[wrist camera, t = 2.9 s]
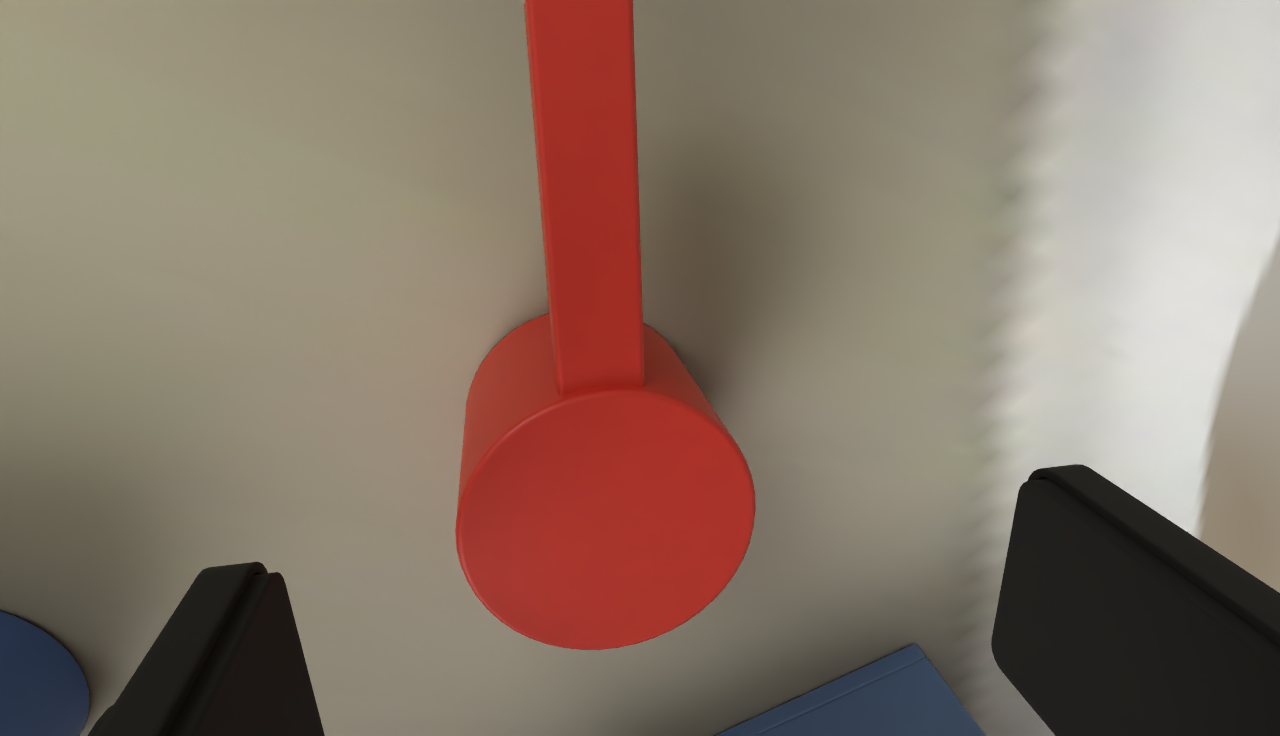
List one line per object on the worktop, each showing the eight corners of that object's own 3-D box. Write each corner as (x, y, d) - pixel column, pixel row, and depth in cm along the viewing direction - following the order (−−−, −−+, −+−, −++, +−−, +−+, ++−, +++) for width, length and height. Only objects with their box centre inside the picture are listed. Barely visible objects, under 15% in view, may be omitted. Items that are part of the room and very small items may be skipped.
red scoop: (691, 497, 15) (753, 628, 12) (479, 525, 15) (474, 673, 11) (688, 15, 12) (774, -16, 8) (411, 20, 11) (371, -10, 8)
